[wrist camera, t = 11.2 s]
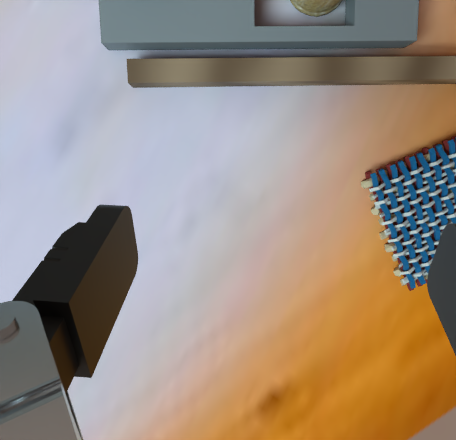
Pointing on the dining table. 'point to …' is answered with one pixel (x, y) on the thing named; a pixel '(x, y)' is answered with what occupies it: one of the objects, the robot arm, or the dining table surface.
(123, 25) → the grey tray with post
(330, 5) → the sprinkles bottle
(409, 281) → the woven mat
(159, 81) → the guide rails
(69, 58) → the dining table surface
